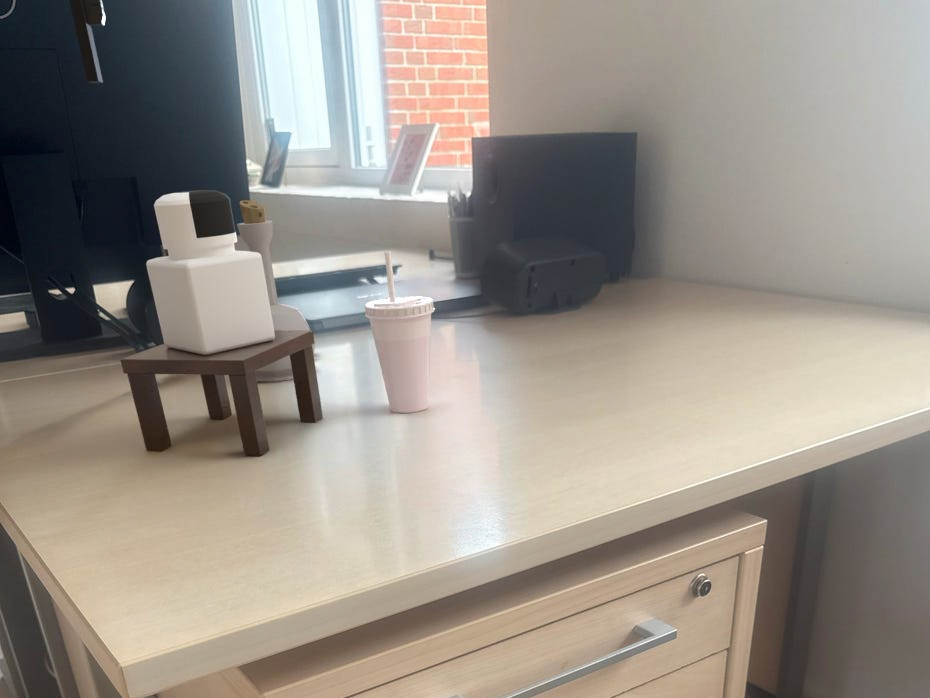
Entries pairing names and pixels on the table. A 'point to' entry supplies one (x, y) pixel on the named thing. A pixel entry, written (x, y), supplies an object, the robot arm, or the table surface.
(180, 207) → the medicine bottle
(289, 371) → the potion bottle
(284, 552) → the table surface
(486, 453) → the table surface
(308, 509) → the table surface
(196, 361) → the stand
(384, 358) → the smoothie
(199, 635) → the table surface
